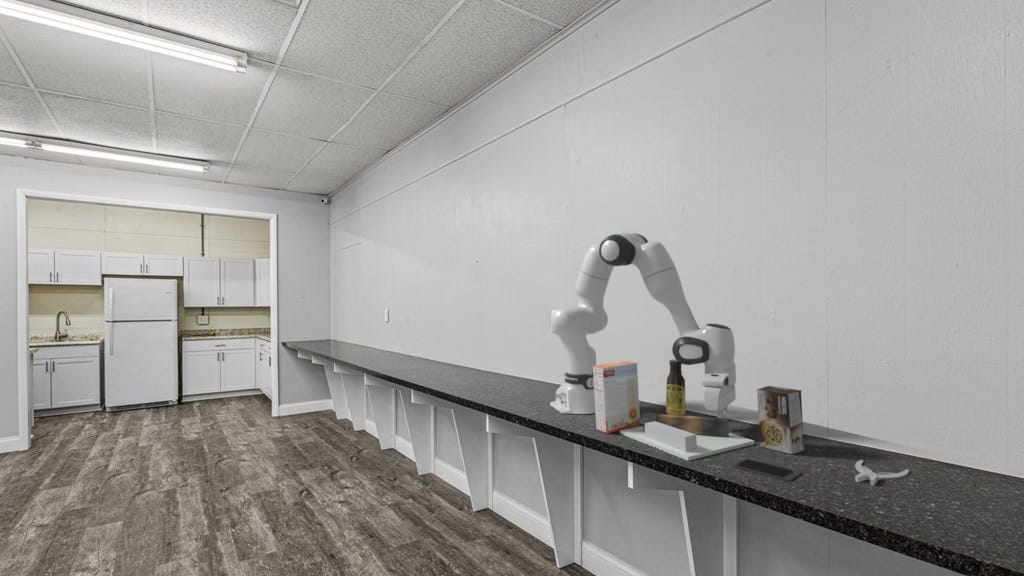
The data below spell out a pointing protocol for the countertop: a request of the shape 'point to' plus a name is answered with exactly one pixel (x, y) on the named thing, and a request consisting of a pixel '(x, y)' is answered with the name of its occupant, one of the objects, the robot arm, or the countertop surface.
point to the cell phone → (767, 469)
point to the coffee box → (780, 419)
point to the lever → (691, 423)
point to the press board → (701, 440)
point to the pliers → (875, 474)
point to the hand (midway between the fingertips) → (722, 420)
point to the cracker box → (616, 396)
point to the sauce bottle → (675, 390)
